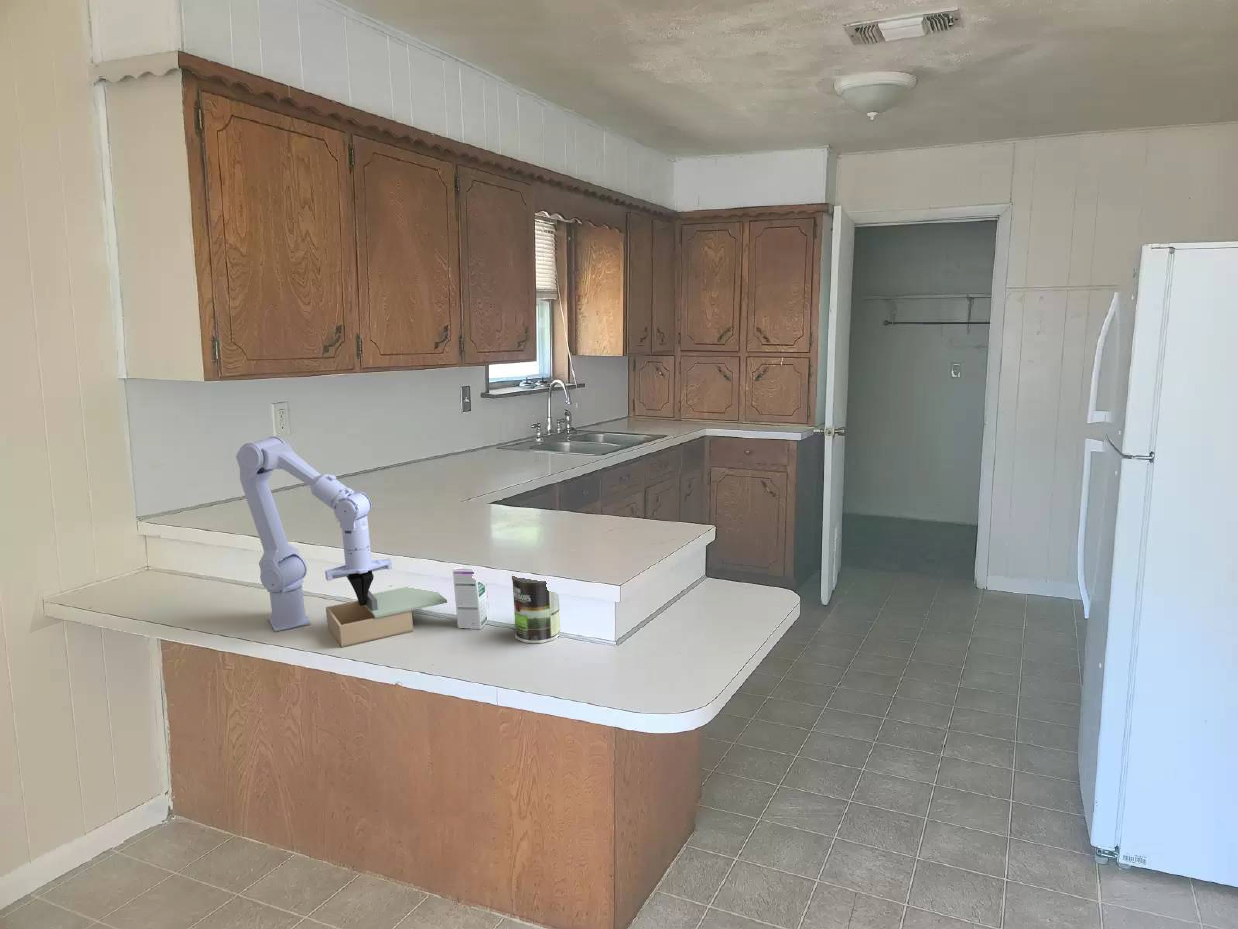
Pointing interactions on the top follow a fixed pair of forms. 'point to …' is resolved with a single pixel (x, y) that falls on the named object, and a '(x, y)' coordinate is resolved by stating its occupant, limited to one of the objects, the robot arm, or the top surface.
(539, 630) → the coffee can
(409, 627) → the mailer box
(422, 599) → the lid
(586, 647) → the top surface
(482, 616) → the syrup box
